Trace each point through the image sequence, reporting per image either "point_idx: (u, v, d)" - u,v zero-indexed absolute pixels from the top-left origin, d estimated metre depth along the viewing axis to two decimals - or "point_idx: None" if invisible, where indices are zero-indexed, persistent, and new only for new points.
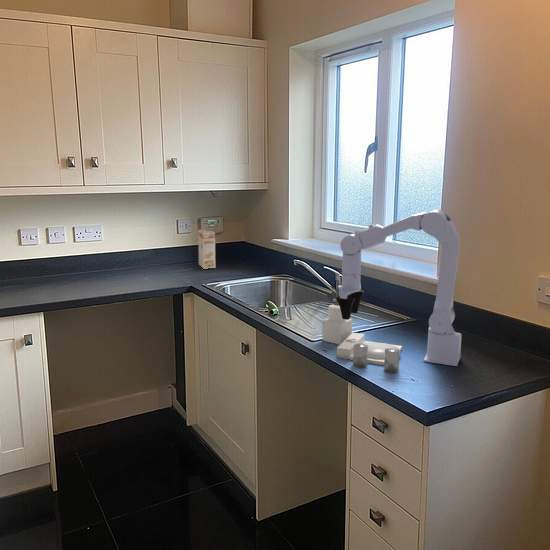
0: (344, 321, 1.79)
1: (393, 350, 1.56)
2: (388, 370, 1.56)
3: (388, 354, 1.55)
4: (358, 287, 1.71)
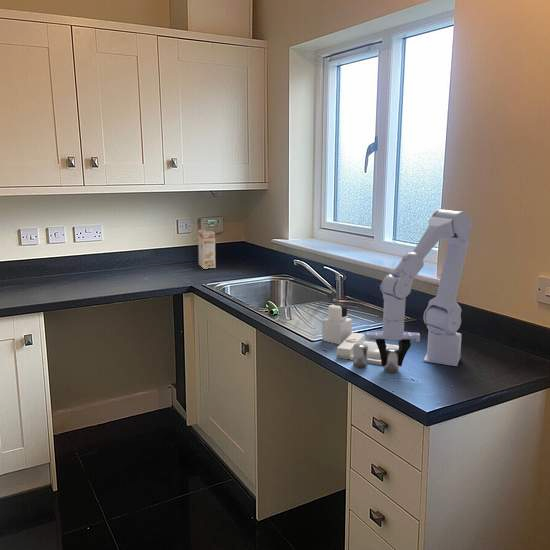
0: (344, 321, 1.79)
1: (393, 350, 1.56)
2: (388, 370, 1.56)
3: (388, 354, 1.55)
4: (391, 335, 1.53)
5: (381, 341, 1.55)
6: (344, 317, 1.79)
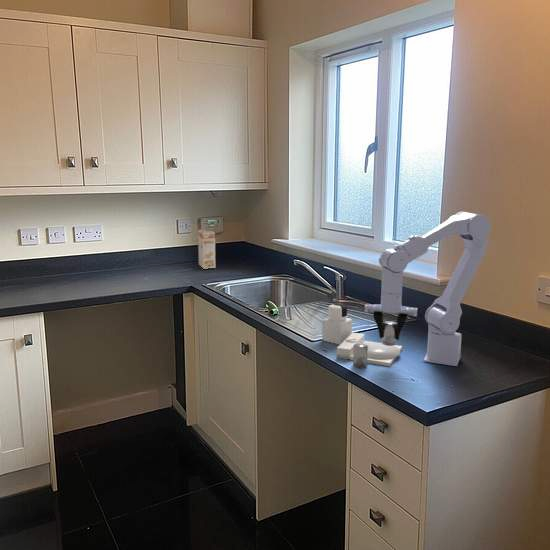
0: (344, 321, 1.79)
1: (391, 324, 1.59)
2: (384, 342, 1.60)
3: (385, 327, 1.59)
4: (387, 307, 1.56)
5: (378, 313, 1.59)
6: (344, 317, 1.79)
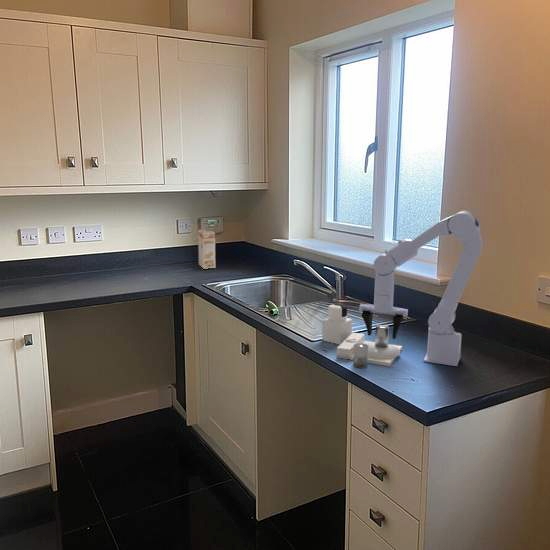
0: (344, 321, 1.79)
1: (382, 327, 1.71)
2: (376, 344, 1.72)
3: (377, 330, 1.71)
4: (378, 308, 1.68)
5: (366, 312, 1.72)
6: (344, 317, 1.79)
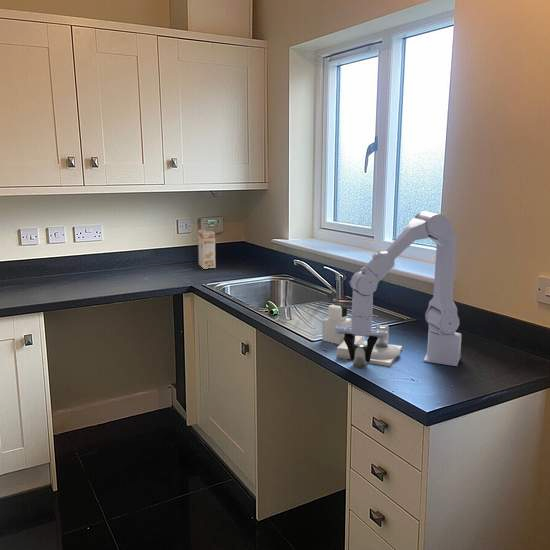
0: (344, 321, 1.79)
1: (383, 327, 1.71)
2: (376, 344, 1.72)
3: None
4: (356, 330, 1.57)
5: (349, 336, 1.59)
6: (344, 317, 1.79)
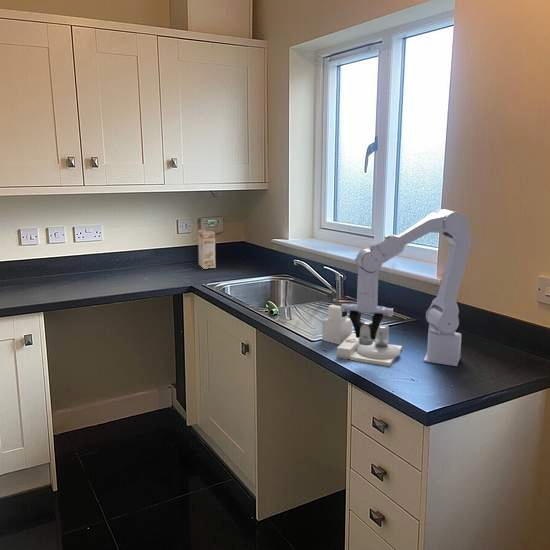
0: (344, 321, 1.79)
1: (383, 327, 1.71)
2: (376, 344, 1.72)
3: (377, 330, 1.71)
4: (362, 307, 1.57)
5: (354, 313, 1.60)
6: (344, 317, 1.79)
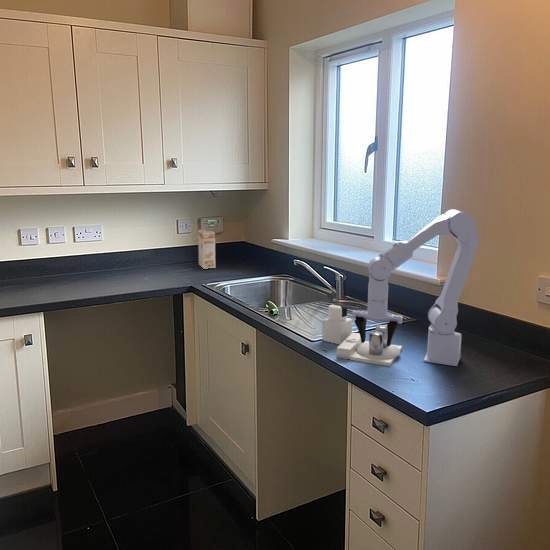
0: (344, 321, 1.79)
1: (383, 327, 1.71)
2: None
3: (377, 330, 1.71)
4: (372, 314, 1.62)
5: (360, 319, 1.65)
6: (344, 317, 1.79)
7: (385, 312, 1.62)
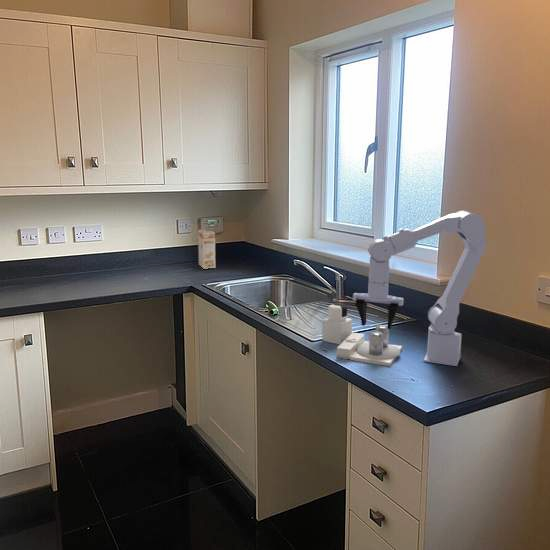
0: (344, 321, 1.79)
1: (383, 327, 1.71)
2: None
3: (377, 330, 1.71)
4: (372, 296, 1.61)
5: (360, 301, 1.64)
6: (344, 317, 1.79)
7: (386, 294, 1.61)
